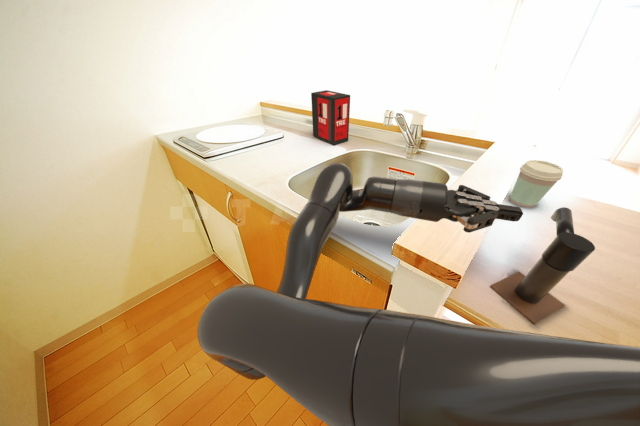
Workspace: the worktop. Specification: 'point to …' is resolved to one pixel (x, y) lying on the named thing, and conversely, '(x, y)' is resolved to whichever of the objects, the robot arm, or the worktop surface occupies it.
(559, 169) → the coffee cup
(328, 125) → the cleaning product box
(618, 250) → the worktop surface
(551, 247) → the spout
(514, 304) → the base
